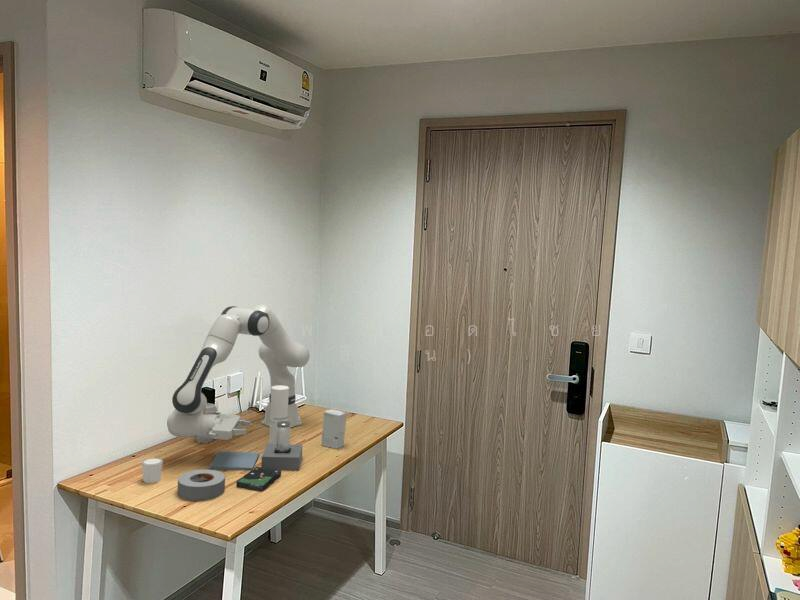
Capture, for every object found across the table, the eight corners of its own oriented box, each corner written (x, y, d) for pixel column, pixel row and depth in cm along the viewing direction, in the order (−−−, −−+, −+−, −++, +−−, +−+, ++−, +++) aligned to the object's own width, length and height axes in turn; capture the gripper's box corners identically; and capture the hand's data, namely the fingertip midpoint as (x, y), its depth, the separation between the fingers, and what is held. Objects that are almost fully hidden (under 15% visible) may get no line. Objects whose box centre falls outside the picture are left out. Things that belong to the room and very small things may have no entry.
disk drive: (255, 473, 222) (235, 488, 208) (255, 466, 222) (235, 481, 208) (281, 477, 220) (262, 493, 206) (281, 470, 220) (263, 485, 205)
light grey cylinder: (146, 475, 213) (147, 457, 213) (165, 477, 213) (166, 458, 212) (137, 483, 206) (138, 464, 206) (157, 485, 206) (157, 465, 206)
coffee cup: (216, 436, 258) (217, 402, 257) (217, 443, 249) (217, 408, 248) (193, 437, 255) (193, 403, 254) (192, 445, 246) (193, 409, 245)
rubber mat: (218, 453, 238) (218, 451, 238) (259, 454, 239) (259, 452, 239) (209, 469, 222) (209, 466, 222) (252, 470, 223) (252, 467, 223)
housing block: (266, 455, 239) (267, 443, 238) (301, 456, 240) (302, 444, 239) (261, 469, 225) (261, 456, 224) (298, 470, 226) (299, 457, 225)
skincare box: (321, 445, 254) (322, 411, 252) (328, 441, 259) (330, 408, 258) (337, 449, 250) (339, 415, 248) (345, 445, 255) (346, 411, 254)
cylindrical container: (282, 449, 246) (284, 390, 244) (266, 447, 248) (268, 388, 245) (289, 444, 253) (291, 386, 251) (273, 442, 255) (275, 384, 252)
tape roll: (199, 479, 213) (199, 465, 213) (234, 488, 208) (234, 474, 207) (167, 495, 199) (167, 480, 199) (203, 505, 193) (204, 490, 193)
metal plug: (276, 460, 234) (277, 420, 233) (289, 460, 235) (290, 421, 233) (274, 465, 229) (276, 424, 228) (288, 465, 230) (289, 425, 228)
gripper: (205, 426, 218) (243, 427, 219) (217, 411, 238) (253, 412, 239) (204, 443, 218) (243, 444, 219) (217, 426, 239) (252, 427, 240)
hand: (248, 427), depth 229 cm, fingers open, 8 cm apart
